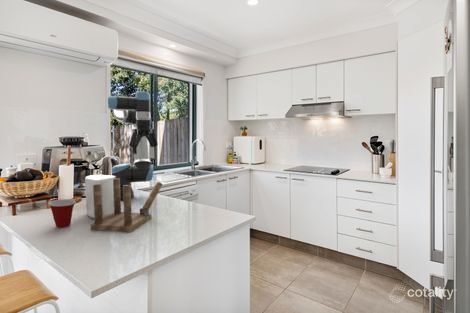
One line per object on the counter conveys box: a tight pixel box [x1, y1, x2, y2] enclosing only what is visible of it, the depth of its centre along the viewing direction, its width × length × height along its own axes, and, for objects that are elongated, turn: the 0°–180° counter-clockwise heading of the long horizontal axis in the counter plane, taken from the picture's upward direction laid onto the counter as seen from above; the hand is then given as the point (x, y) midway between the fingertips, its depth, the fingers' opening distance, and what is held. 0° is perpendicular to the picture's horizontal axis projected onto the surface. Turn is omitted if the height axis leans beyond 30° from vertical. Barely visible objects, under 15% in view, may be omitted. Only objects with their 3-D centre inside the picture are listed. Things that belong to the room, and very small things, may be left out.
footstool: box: [89, 178, 152, 233], centre depth 130 cm, size 20×20×21 cm
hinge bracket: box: [139, 207, 150, 216], centre depth 137 cm, size 2×5×3 cm, turn 46°
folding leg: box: [141, 181, 163, 211], centre depth 140 cm, size 3×3×16 cm
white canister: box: [84, 174, 116, 220], centre depth 144 cm, size 15×14×22 cm
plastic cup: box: [48, 198, 76, 229], centre depth 127 cm, size 11×11×12 cm
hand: (144, 158), depth 151 cm, fingers open, 11 cm apart
